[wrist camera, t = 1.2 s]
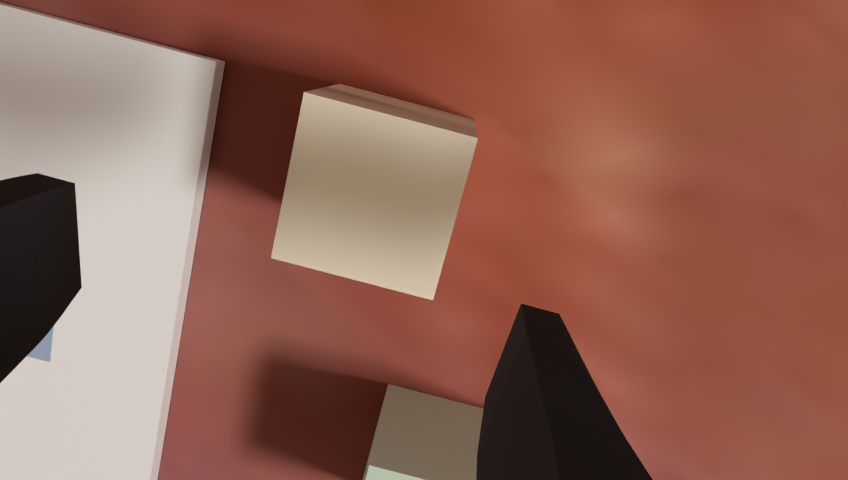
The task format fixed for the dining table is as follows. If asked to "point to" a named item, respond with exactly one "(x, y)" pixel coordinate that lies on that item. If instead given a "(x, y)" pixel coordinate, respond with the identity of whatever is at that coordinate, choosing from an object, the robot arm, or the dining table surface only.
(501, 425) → the robot arm
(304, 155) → the maple block
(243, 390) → the dining table surface
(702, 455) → the dining table surface
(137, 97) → the white flat slab
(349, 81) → the dining table surface
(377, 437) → the sage block
